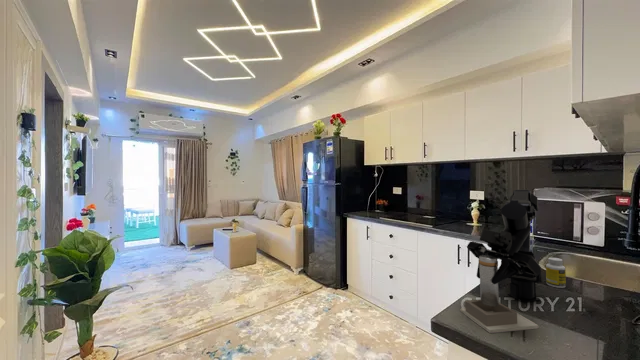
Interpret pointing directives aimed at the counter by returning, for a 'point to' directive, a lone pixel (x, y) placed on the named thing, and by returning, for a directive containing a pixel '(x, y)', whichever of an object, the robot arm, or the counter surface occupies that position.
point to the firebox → (496, 317)
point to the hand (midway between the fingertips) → (485, 280)
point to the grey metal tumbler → (488, 280)
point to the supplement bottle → (555, 273)
